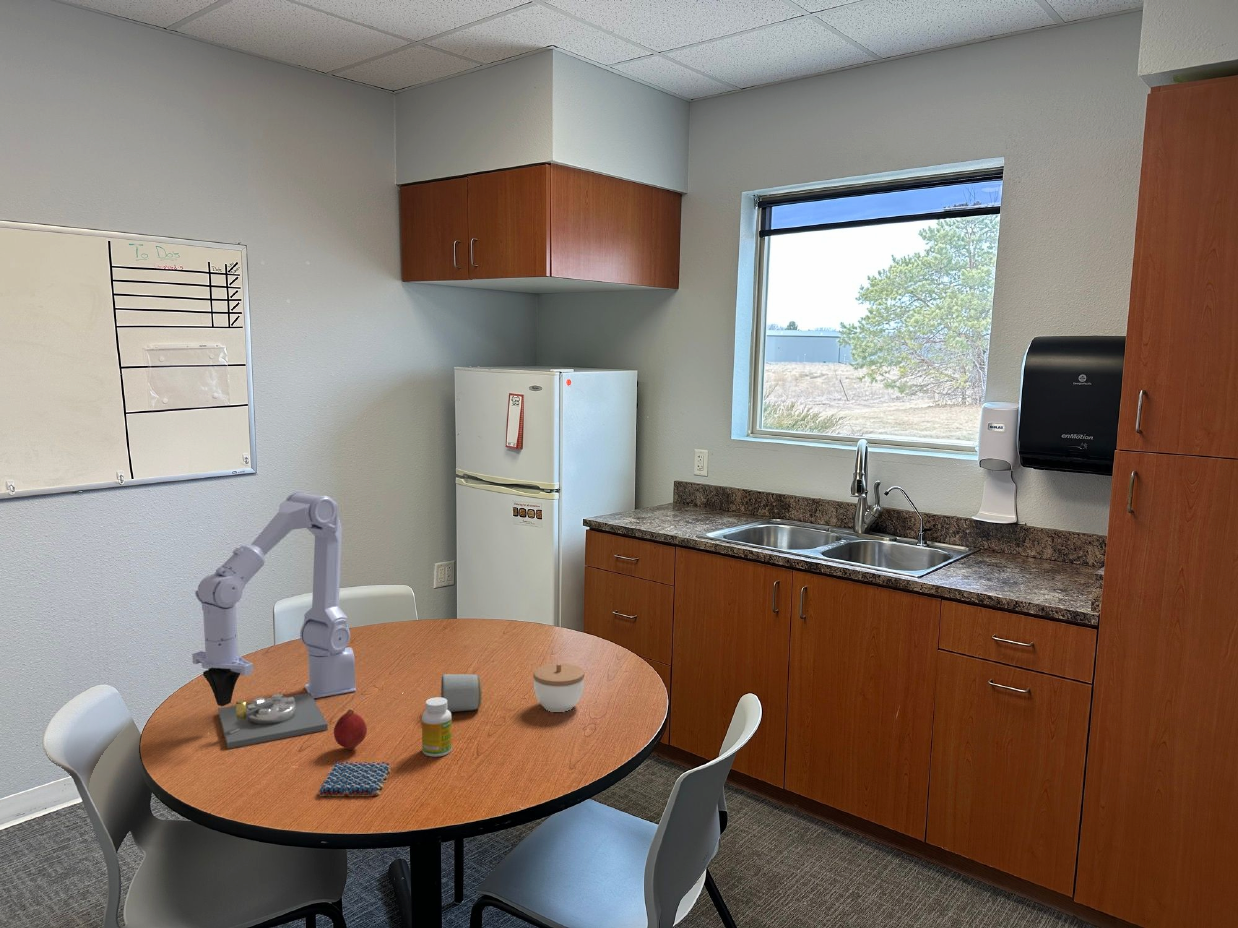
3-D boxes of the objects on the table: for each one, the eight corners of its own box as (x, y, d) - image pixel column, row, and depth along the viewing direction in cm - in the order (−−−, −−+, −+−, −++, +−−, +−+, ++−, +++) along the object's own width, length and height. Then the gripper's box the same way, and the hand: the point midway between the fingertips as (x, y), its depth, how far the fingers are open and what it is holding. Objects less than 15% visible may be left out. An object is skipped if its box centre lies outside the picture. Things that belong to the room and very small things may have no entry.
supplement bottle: (444, 758, 159) (444, 708, 158) (417, 755, 160) (416, 705, 159) (456, 746, 165) (455, 696, 163) (429, 743, 166) (428, 694, 164)
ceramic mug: (483, 714, 179) (482, 678, 179) (442, 718, 177) (442, 681, 176) (477, 696, 190) (477, 661, 189) (439, 699, 187) (438, 664, 187)
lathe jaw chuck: (274, 703, 180) (273, 679, 180) (305, 711, 176) (304, 687, 175) (222, 725, 169) (221, 699, 169) (254, 734, 165) (253, 708, 165)
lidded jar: (594, 706, 184) (595, 664, 183) (557, 721, 176) (557, 677, 175) (559, 693, 191) (560, 652, 190) (522, 707, 183) (522, 664, 182)
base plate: (310, 697, 187) (310, 692, 186) (327, 729, 171) (327, 723, 171) (218, 713, 178) (218, 707, 178) (227, 748, 162) (227, 742, 162)
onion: (337, 759, 159) (336, 717, 158) (332, 746, 164) (330, 705, 163) (369, 752, 161) (368, 711, 160) (363, 740, 166) (362, 700, 165)
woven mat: (393, 770, 156) (393, 759, 156) (379, 800, 145) (379, 788, 145) (334, 770, 155) (334, 759, 155) (316, 800, 145) (315, 788, 145)
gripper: (177, 636, 168) (180, 704, 169) (229, 648, 161) (233, 718, 163) (208, 626, 174) (212, 691, 176) (260, 637, 168) (263, 705, 169)
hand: (224, 703), depth 170 cm, fingers closed
